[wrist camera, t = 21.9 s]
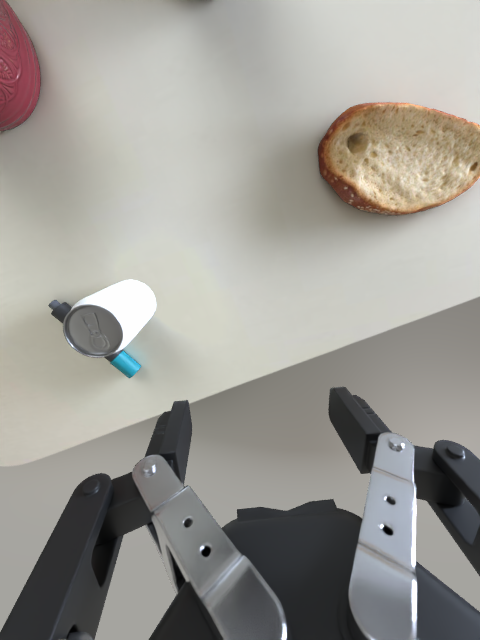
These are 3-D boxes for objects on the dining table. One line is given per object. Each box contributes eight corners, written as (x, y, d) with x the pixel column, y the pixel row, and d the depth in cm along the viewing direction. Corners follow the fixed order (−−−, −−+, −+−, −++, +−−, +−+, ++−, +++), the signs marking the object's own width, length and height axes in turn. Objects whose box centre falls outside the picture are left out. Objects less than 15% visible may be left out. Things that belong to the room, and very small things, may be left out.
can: (119, 327, 37) (74, 367, 26) (103, 284, 35) (46, 307, 24) (162, 318, 37) (136, 354, 26) (149, 274, 35) (113, 293, 24)
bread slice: (492, 163, 33) (524, 154, 30) (379, 259, 36) (396, 262, 33) (426, 27, 28) (456, -3, 25) (303, 152, 31) (313, 142, 28)
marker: (57, 301, 36) (42, 311, 34) (61, 294, 34) (45, 304, 33) (136, 368, 40) (126, 380, 38) (143, 364, 38) (133, 376, 37)
